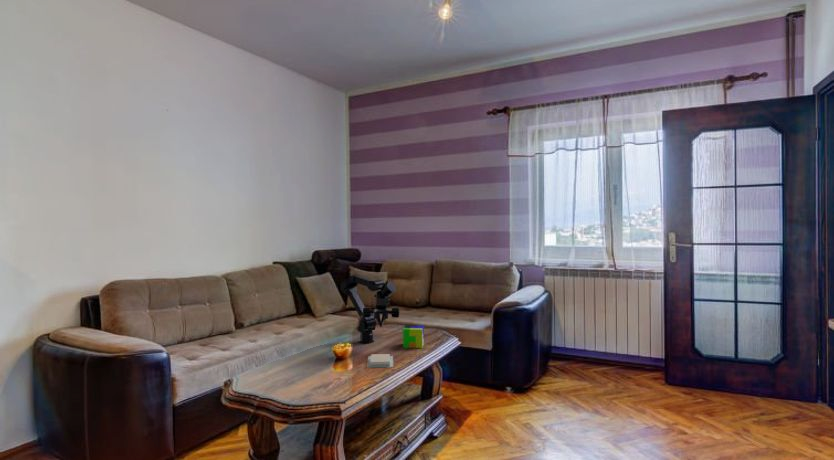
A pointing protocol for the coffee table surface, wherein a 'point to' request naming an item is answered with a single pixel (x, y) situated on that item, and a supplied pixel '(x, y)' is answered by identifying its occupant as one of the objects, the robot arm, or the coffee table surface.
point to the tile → (380, 360)
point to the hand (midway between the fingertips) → (380, 326)
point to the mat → (383, 366)
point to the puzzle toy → (413, 336)
